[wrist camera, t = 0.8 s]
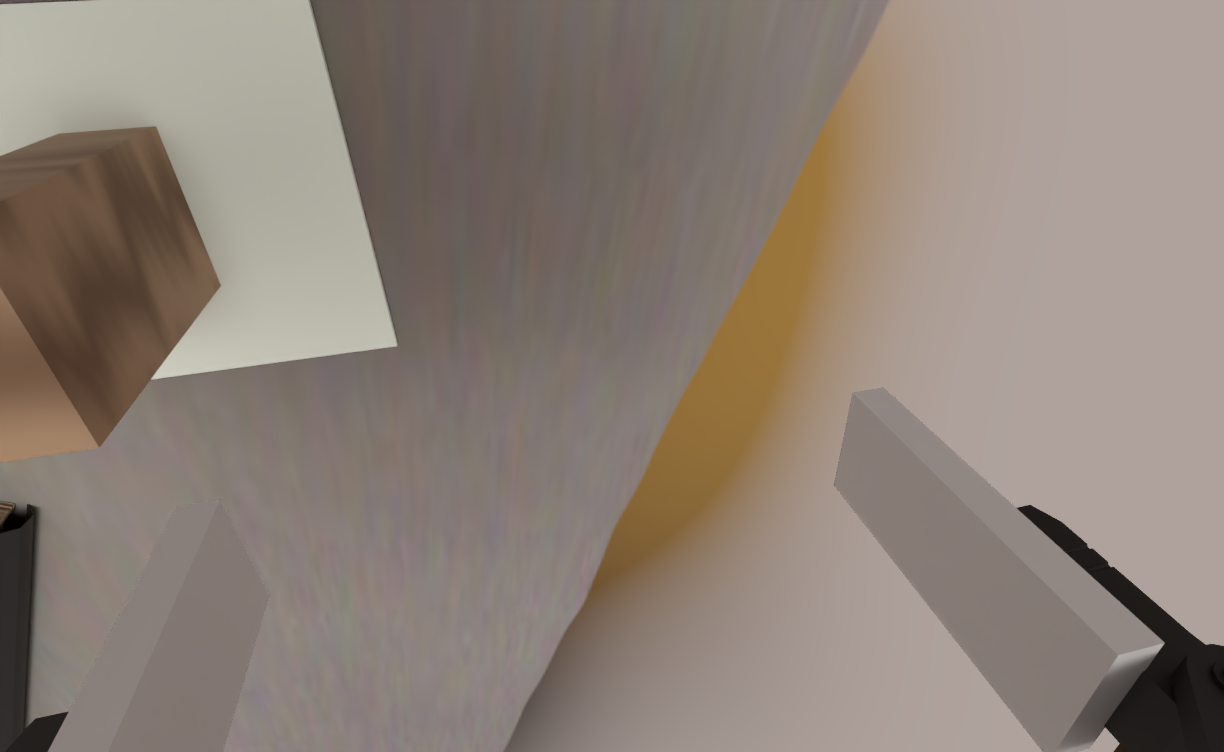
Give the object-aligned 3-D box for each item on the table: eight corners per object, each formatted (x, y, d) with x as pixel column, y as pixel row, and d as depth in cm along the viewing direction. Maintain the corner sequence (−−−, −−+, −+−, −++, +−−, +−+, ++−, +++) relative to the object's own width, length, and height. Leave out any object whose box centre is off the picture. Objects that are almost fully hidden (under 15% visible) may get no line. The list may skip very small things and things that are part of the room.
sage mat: (-561, 28, 23) (-576, 28, 22) (307, -9, 28) (306, -9, 27) (-197, 423, 32) (-203, 427, 32) (397, 342, 37) (397, 345, 37)
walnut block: (58, 133, 28) (-215, 237, 16) (155, 126, 29) (-41, 221, 17) (138, 294, 32) (-34, 467, 21) (221, 285, 33) (99, 447, 21)
